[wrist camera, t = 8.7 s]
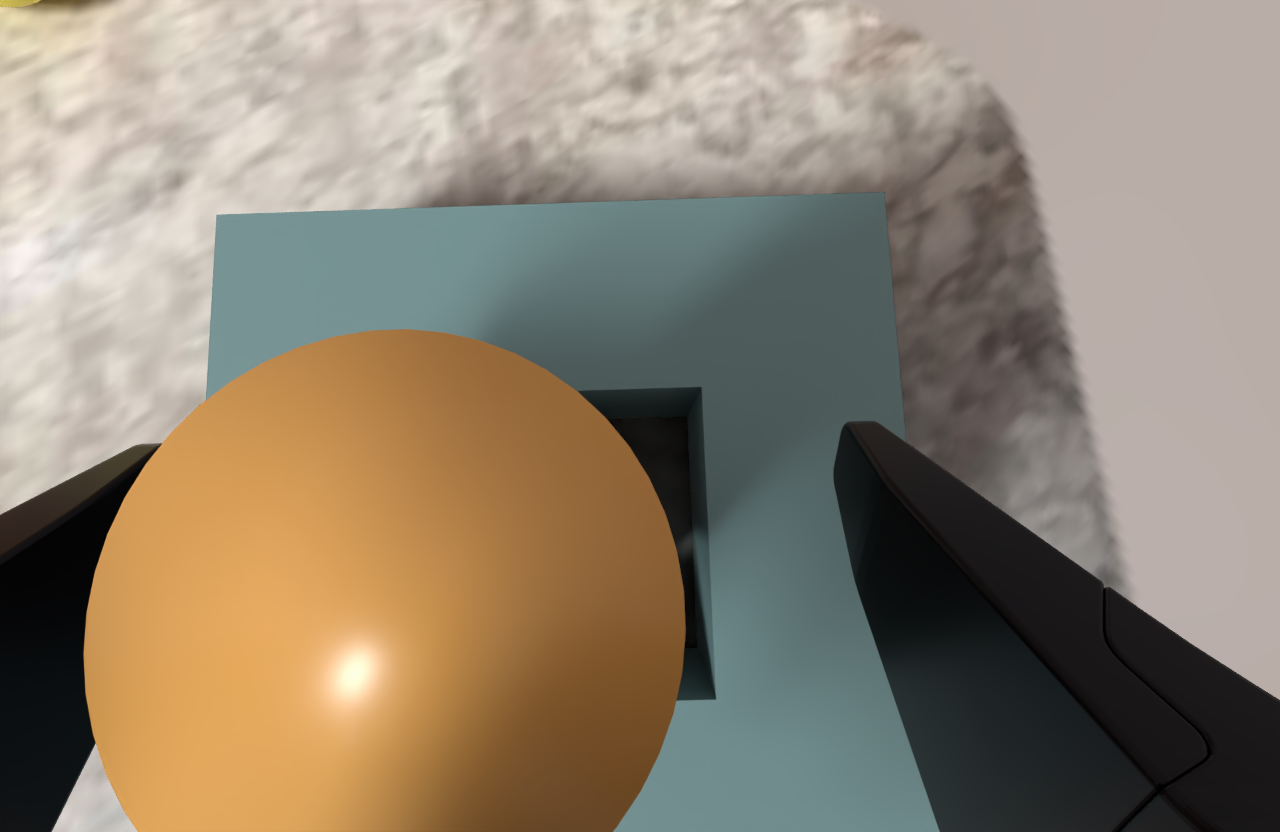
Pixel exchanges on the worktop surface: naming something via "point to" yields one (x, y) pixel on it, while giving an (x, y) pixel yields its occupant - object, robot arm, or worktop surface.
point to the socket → (717, 435)
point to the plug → (386, 603)
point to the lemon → (17, 3)
